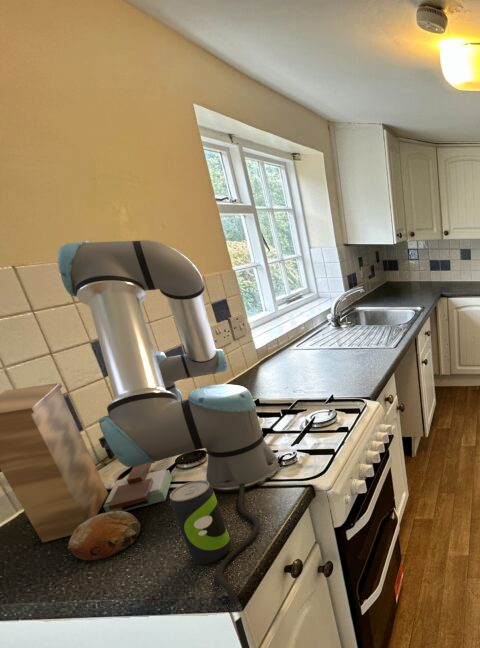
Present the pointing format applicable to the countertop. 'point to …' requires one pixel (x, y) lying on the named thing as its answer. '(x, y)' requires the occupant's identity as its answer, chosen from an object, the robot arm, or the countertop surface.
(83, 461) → the stand
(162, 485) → the scale
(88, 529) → the bread roll
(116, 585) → the countertop surface
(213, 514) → the beverage can
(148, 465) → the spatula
